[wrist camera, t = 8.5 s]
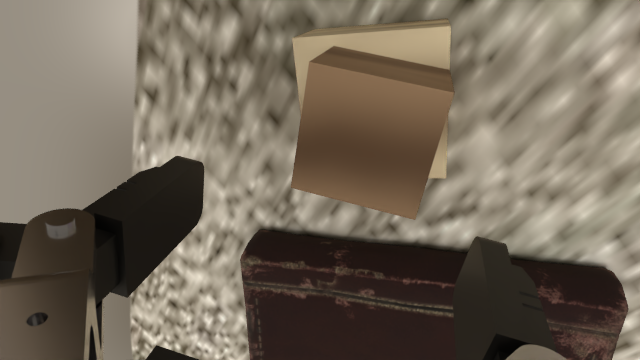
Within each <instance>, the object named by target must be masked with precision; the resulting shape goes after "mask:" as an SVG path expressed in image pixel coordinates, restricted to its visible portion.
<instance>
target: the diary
mask: <svg viewBox="0 0 640 360" xmlns="http://www.w3.org/2000/svg"><path fill="white" fill-rule="evenodd" d="M466 256H467V254H466V253H458V252H450V251H442V250H435V249H427V248H419V247H411V246H400V245H389V244H378V243H367V242H356V241H345V240H334V239H327V238H320V237H313V236H305V235H298V234H291V233H283V232H276V231H268V230H259V231H258V232H257V233H256V234H255V235H254V236H253V237H252V239H251V240H250V241H249V243H248V244H247V246H246V248H245V250H244V252H243V254H242V256H241V260H240V261H241V270H242V279H243V288H244V297H245V306H246V317H247V329H248V342H249V353H250V360H456V349H455V332H454V316H453V293H454V288H455V284H456V281H457V278H458V276H459V273H460V271H461V269H462V266H463V264H464V261H465V259H466ZM510 260H511V264H512V265H515V266H519V267H522V268H523V269H524V271H525V272H526V273H527V274H528V275H529V277H530V278H531V279H532V280H533V281H534V283H535V286H536V289H537V292H538V295H539V298H538V299H539V300H540V301H541V304H542V307H543V312H544V313H545V316H546V320H547V323H548V326H549V329H550V332H551V335H552V338H553V341H554V344H555V347H556V350H557V353H558V354H560V355H561V356H563V357H564V358H566V359H567V360H612V358H613V354H614V351H615V348H616V344H617V341H618V338H619V334H620V332H621V329H622V327H623V324H624V321H625V318H626V315H627V312H628V304H627V301H626V297H625V294H624V291H623V287H622V285H621V283H620V282H619V280H618V278H617V277H616V275H615V274H614V273H613V272H612V271H610V270H608V269H606V268H599V267H589V266H579V265H569V264H558V263H548V262H538V261H527V260H517V259H510Z"/></svg>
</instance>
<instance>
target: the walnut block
mask: <svg viewBox="0 0 640 360" xmlns="http://www.w3.org/2000/svg"><path fill="white" fill-rule="evenodd" d="M453 96H454V88H453V83H452V79H451V74H450V70H448V69H443V68H438V67H434V66H429V65H424V64H419V63H414V62H409V61H405V60H400V59H395V58H390V57H385V56H380V55H376V54H371V53H366V52H361V51H356V50H351V49H346V48H342V47H337V46H333V47H331V48H330V49H328V50H327V51H325V52H323V53H322V54H320V55H319V56H317V57H316V58H314V59H313V60H311V61H309V66H308V73H307V80H306V87H305V93H304V100H303V107H302V114H301V121H300V128H299V135H298V142H297V149H296V156H295V163H294V170H293V177H292V183H291V188H294V189H298V190H302V191H306V192H310V193H314V194H318V195H321V196H325V197H329V198H333V199H337V200H341V201H345V202H348V203H352V204H356V205H360V206H364V207H368V208H371V209H375V210H379V211H383V212H387V213H391V214H395V215H398V216H402V217H406V218H410V219H414V220H415V218H416V215H417V212H418V209H419V205H420V202H421V199H422V196H423V193H424V189H425V186H426V183H427V180H428V176H429V173H430V170H431V167H432V164H433V160H434V157H435V154H436V151H437V147H438V144H439V141H440V138H441V135H442V131H443V128H444V125H445V122H446V119H447V115H448V112H449V109H450V106H451V102H452V99H453Z"/></svg>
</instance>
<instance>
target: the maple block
mask: <svg viewBox="0 0 640 360" xmlns="http://www.w3.org/2000/svg"><path fill="white" fill-rule="evenodd" d="M450 37H451V25H450V23H449V21H448V19H438V20H426V21H413V22H400V23H388V24H375V25H363V26H350V27H337V28H325V29H314V30H311V31H309V32H306V33H304V34H301V35H299V36H296V37H293V38H292V41H293V49H294V58H295V67H296V76H297V85H298V94H299V103H300V112H301V114H302V107H303V100H304V93H305V87H306V80H307V73H308V66H309V61H311V60H313V59H314V58H316V57H317V56H319V55H320V54H322V53H323V52H325V51H327V50H328V49H330V48H331V47H333V46H337V47H342V48H346V49H351V50H356V51H361V52H366V53H371V54H376V55H380V56H385V57H390V58H395V59H400V60H405V61H409V62H414V63H419V64H424V65H429V66H434V67H438V68H443V69H448V70H449V69H450ZM447 131H448V115H447V119H446V122H445V125H444V128H443V131H442V135H441V138H440V141H439V144H438V147H437V151H436V154H435V157H434V160H433V164H432V167H431V170H430V173H429V176H428V178H446V162H447Z"/></svg>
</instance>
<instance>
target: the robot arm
mask: <svg viewBox="0 0 640 360" xmlns="http://www.w3.org/2000/svg"><path fill="white" fill-rule="evenodd" d="M203 189H204V166H203V163H202V162H199V161H196V160H192V159H188V158H184V157H181V156H175V157H174V158H172V159H171V160H169V161H168V162H167V163H165V164H164V165H162V166H161V167H154V168H151V169H148V170H145V171H141V172H139V173H137V174H136V175H134V176H133V177H131V178H130V179H128V180H127V182H124V183H122V184H121V185H119V186H118V187H117V189H113V190H112V191H110V192H109V193H107V194H106V195H104V196H103V197H101V198H100V199H98V200H97V201H95V202H94V203H92V204H91V205H89V206H88V207H86V208H85V209H83V210H79V209H71V208H70V209H69V208H67V209H56V210H52V211H48V212H45V213H42V214H40V215H38V216H36V217H34V218H33V219H31V220H30V221H29V222H28V223H27V224H17V223H2V222H0V360H103V343H104V303H103V299H104V298H105V297H106V295H108V294H109V292H112V293H115V294H118V295H121V296H124V297H129V295H130V294H131V293H132V292H133V291H134V290H135V289H136V288H137V287H138V286H139V285H140V284H141V283H142V282H143V281H144V280H145V279H146V278H147V277H148V276H149V275H150V273H151V272H152V271H153V270H154V269H155V268H156V267H157V266H158V265H159V264H160V263H161V262H162V261H163V260H164V259H165V258H166V257H167V256H168V255H169V254H170V253H171V251H172V250H173V249H174V248H175V247H176V246H177V245H178V244H179V243H180V242H181V241H182V240H183V239H184V238H185V237H186V236H187V235H188V234H189V233H190V232H191V231H192V229H193V228H194V227H195V226H196V225H197V223H198V221H199V219H200V217H201V214H202V209H203ZM538 298H539V295H538V292H537V289H536V286H535V283H534V281H533V280H532V279H531V278H530V277H529V275H528V274H527V273H526V272H525V271H524V269H523V268H522V267H519V266H515V265H512V264H511V260H510V257H509V253H508V249H507V246H506V244H504V243H500V242H497V241H493V240H489V239H485V238H482V237H476V238H475V239H474V240H473V242H472V244H471V247H470V249H469V252H468V254H467V256H466V259H465V261H464V264H463V266H462V269H461V271H460V273H459V276H458V278H457V281H456V284H455V288H454V293H453V316H454V332H455V349H456V360H567V359H566V358H564V357H563V356H561V355H560V354H558V353H557V350H556V347H555V344H554V341H553V338H552V335H551V332H550V329H549V326H548V323H547V320H546V316H545V313H544V312H543V307H542V304H541V301H540V300H539V299H538ZM146 360H198V359H195V358H192V357H189V356H187V355H184V354H181V353H178V352H175V351H172V350H169V349H166V348H163V347H160V346H157V345H156V347H155V348H154V349H153V350H152V352H151V353H150V354H149V356H148V357H147V358H146Z"/></svg>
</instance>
